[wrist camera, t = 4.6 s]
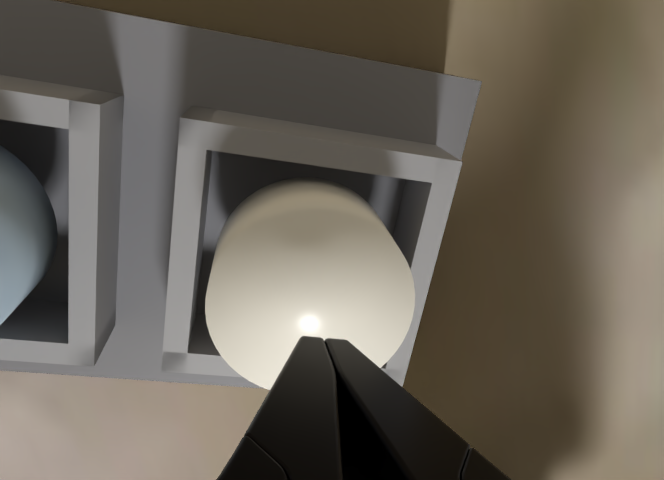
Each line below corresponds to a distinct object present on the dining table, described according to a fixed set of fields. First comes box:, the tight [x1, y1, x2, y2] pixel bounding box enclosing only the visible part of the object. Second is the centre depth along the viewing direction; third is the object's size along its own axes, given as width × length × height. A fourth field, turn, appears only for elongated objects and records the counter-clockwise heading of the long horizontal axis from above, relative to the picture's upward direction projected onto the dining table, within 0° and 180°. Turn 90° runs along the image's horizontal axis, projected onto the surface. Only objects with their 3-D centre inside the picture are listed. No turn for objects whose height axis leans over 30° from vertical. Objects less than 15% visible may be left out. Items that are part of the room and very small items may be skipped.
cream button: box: [205, 177, 415, 390], centre depth 12 cm, size 4×4×2 cm
